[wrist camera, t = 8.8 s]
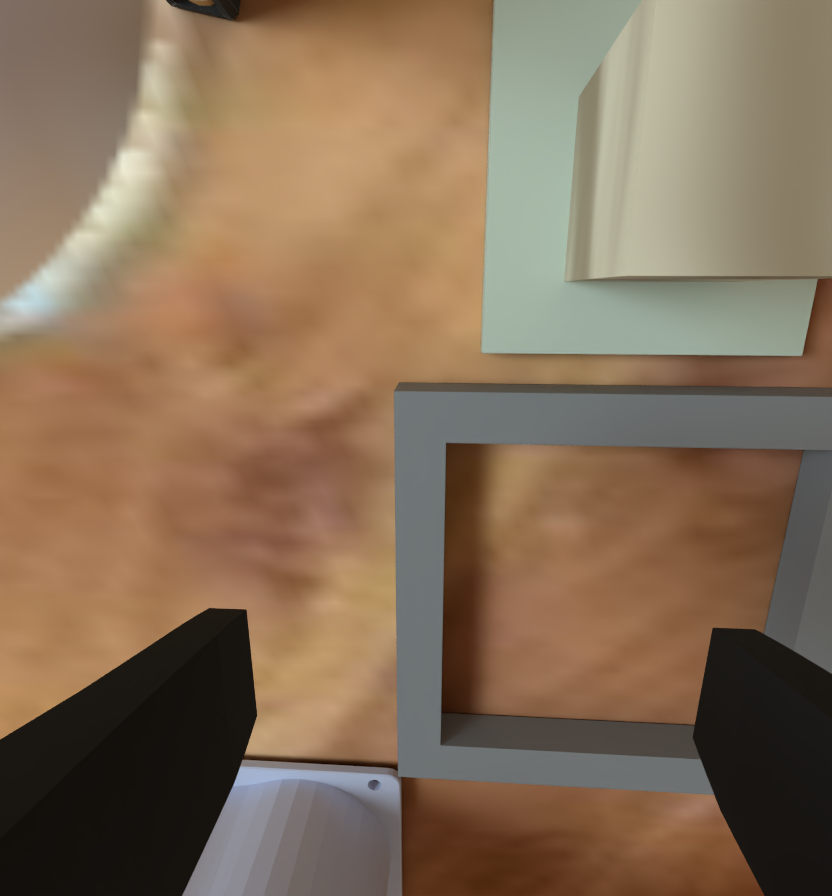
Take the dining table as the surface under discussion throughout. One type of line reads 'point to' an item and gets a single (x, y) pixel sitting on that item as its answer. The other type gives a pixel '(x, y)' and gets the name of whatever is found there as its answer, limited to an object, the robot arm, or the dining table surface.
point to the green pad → (548, 206)
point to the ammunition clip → (210, 7)
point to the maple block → (707, 146)
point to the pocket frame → (589, 424)
